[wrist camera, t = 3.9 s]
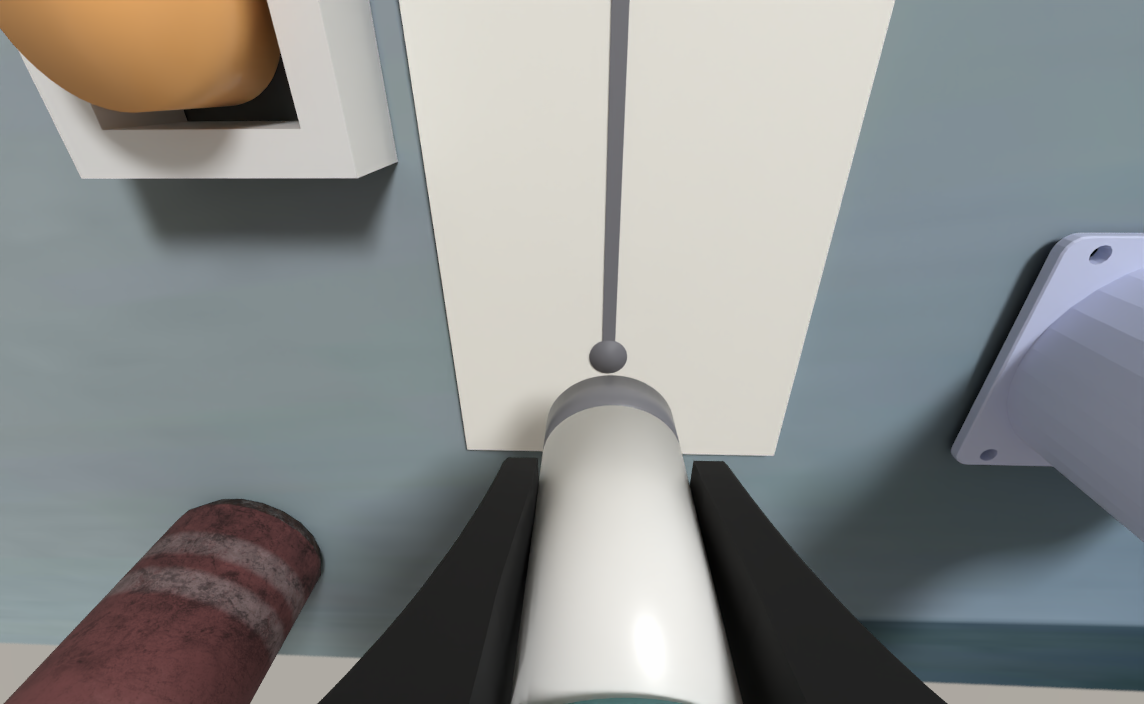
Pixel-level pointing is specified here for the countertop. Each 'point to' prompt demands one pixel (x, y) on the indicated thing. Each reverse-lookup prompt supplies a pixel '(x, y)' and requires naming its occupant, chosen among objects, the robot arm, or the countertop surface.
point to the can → (189, 615)
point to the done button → (148, 50)
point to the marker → (618, 562)
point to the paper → (636, 198)
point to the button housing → (253, 148)
